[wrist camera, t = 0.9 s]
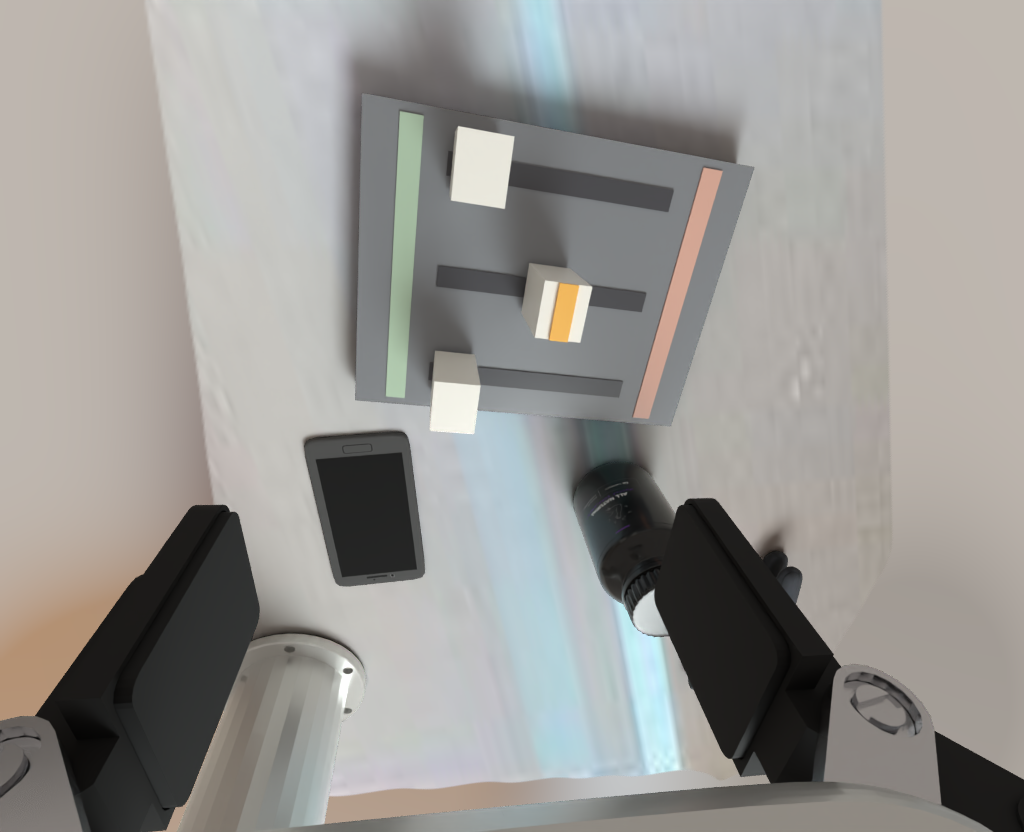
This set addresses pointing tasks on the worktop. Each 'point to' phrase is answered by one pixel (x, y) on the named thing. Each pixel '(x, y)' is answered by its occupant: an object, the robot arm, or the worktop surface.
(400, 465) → the cell phone
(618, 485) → the supplement bottle
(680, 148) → the worktop surface
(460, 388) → the block
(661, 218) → the breaker board
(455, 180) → the block
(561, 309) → the handle
